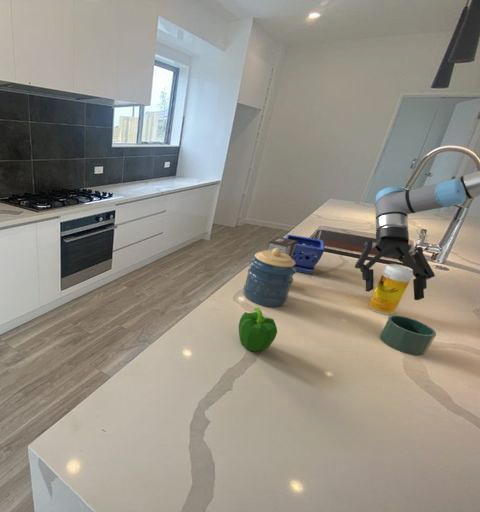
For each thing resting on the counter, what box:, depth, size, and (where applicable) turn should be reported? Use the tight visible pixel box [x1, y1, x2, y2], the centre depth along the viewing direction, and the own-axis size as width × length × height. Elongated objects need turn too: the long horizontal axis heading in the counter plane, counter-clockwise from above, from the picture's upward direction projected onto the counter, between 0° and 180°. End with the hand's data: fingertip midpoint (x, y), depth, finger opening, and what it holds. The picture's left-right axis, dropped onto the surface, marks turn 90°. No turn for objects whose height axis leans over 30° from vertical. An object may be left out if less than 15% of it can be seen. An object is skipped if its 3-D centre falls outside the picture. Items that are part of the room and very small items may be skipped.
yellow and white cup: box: [368, 263, 414, 316], centre depth 92 cm, size 6×6×15 cm
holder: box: [379, 315, 437, 356], centre depth 78 cm, size 9×9×6 cm
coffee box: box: [266, 236, 297, 258], centre depth 108 cm, size 9×6×16 cm
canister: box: [242, 248, 297, 308], centre depth 96 cm, size 13×13×18 cm
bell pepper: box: [238, 306, 278, 352], centre depth 74 cm, size 8×8×10 cm
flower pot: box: [285, 234, 326, 274], centre depth 121 cm, size 13×13×12 cm
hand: (393, 294), depth 89 cm, fingers open, 11 cm apart
